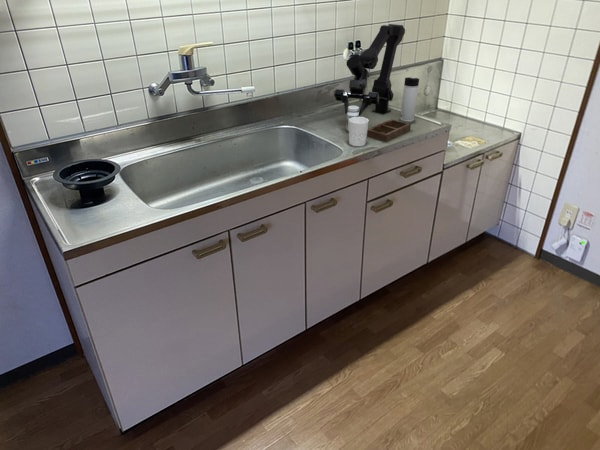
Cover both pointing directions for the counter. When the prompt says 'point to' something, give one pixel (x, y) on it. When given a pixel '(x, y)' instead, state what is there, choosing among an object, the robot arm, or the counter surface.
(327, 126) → the counter surface
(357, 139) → the white cup
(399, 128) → the divided brown tray
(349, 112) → the pill bottle
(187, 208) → the counter surface
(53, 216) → the counter surface
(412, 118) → the travel mug
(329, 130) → the counter surface
